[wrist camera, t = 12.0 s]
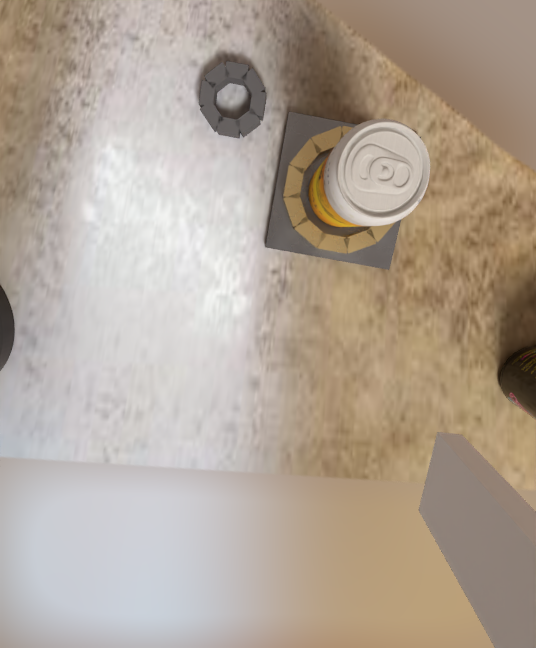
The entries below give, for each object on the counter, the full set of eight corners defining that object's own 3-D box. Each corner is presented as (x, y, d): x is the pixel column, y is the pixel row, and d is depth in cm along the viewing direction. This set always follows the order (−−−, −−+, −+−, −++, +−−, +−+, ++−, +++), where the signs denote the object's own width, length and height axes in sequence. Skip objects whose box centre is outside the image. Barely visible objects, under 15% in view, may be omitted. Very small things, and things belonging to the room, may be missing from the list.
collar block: (265, 246, 41) (264, 248, 38) (288, 114, 38) (289, 105, 35) (386, 268, 41) (395, 271, 38) (417, 138, 38) (429, 131, 36)
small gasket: (198, 130, 38) (195, 126, 37) (207, 63, 37) (205, 56, 36) (259, 142, 39) (258, 138, 37) (270, 75, 37) (269, 69, 36)
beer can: (317, 150, 38) (348, 100, 23) (382, 167, 38) (452, 129, 24) (300, 217, 39) (318, 210, 25) (362, 234, 40) (417, 237, 25)
